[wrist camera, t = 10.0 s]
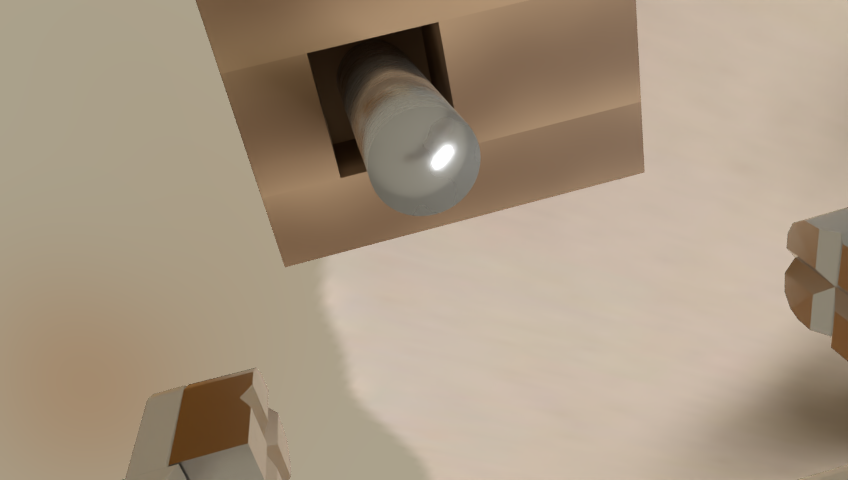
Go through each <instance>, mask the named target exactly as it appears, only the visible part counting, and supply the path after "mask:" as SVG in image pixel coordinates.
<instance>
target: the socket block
mask: <svg viewBox="0 0 848 480" xmlns="http://www.w3.org/2000/svg"><path fill="white" fill-rule="evenodd" d="M196 2H197V5H198V8H199V11H200V14H201V17H202V20H203V23H204V26H205V29H206V32H207V35H208V38H209V41H210V44H211V47H212V50H213V53H214V56H215V59H216V62H217V65H218V68H219V71H220V74H221V77H222V80H223V83H224V86H225V89H226V92H227V95H228V98H229V101H230V104H231V107H232V110H233V113H234V116H235V119H236V122H237V125H238V128H239V131H240V134H241V137H242V140H243V143H244V146H245V149H246V152H247V155H248V158H249V161H250V164H251V167H252V170H253V173H254V176H255V179H256V182H257V185H258V188H259V191H260V194H261V197H262V200H263V203H264V206H265V209H266V212H267V215H268V218H269V221H270V224H271V227H272V230H273V233H274V235H275V239H276V242H277V245H278V248H279V251H280V253H281V256H282V260H283V262H284V266H285V267H288V266H291V265H295V264H299V263H303V262H306V261H310V260H314V259H318V258H322V257H326V256H329V255H333V254H337V253H341V252H344V251H348V250H352V249H356V248H360V247H363V246H367V245H371V244H375V243H379V242H382V241H386V240H390V239H394V238H397V237H401V236H405V235H409V234H413V233H416V232H420V231H424V230H428V229H431V228H435V227H439V226H443V225H447V224H450V223H454V222H458V221H462V220H466V219H469V218H473V217H477V216H481V215H484V214H488V213H492V212H496V211H500V210H503V209H507V208H511V207H515V206H519V205H522V204H526V203H530V202H534V201H537V200H541V199H545V198H549V197H553V196H556V195H560V194H564V193H568V192H572V191H575V190H579V189H583V188H587V187H590V186H594V185H598V184H602V183H606V182H609V181H613V180H617V179H621V178H625V177H628V176H632V175H636V174H640V173H643V172H644V154H643V134H642V115H641V95H640V76H639V56H638V37H637V17H636V0H196ZM370 40H381V41H386V42H389V43H391V44H393V45H395V46H396V47H398V48H399V49H400V50H401V51H402V52H403V53H404V54H405V55H406V56H407V57H408V58H409V59H410V60H411V62H412V63H413V64H414V65H415V66H416V67H417V68H418V69H419V70H420V72H421V73H422V74H423V75H424V76H425V77H426V78H427V79H428V80H429V82H430V83H431V84H432V85H433V86H434V87H435V88H436V89H437V90H438V91H439V93H440V94H441V95H442V96H443V97H444V98H445V99H446V100H447V101H448V103H449V104H450V105H451V106H452V107H453V108H454V109H455V110H456V111H457V113H458V114H459V115H460V116H461V117H462V118H463V119H464V120H465V121H466V123H467V124H468V125H469V126H470V128H471V129H472V130H473V132H474V134H475V136H476V138H477V141H478V143H479V148H480V156H481V158H480V168H479V172H478V176H477V178H476V181H475V183H474V185H473V186H472V188H471V190H470V191H469V192H468V193H467V195H466V196H465V197H464V198H463V199H462V200H461V201H460V202H458V203H457V204H456V205H455V206H453V207H451V208H450V209H448V210H446V211H443V212H441V213H438V214H434V215H429V216H412V215H407V214H403V213H400V212H398V211H396V210H394V209H392V208H391V207H389V206H388V205H387V204H385V203H384V202H383V201H382V200H381V199H380V198H379V196H378V195H377V194H376V192H375V190H374V188H373V186H372V184H371V181H370V179H369V176H368V173H367V170H366V167H365V164H364V162H363V159H362V156H361V153H360V150H359V147H358V145H357V142H356V139H355V136H354V133H353V130H352V128H351V125H350V122H349V119H348V116H347V113H346V111H345V108H344V105H343V102H342V99H341V96H340V94H339V91H338V87H337V72H338V67H339V65H340V62H341V60H342V59H343V57H344V56H345V54H346V53H347V52H348V51H349V50H350V49H351V48H353V47H354V46H356V45H357V44H360V43H362V42H365V41H370Z"/></svg>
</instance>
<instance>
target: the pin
mask: <svg viewBox="0 0 848 480" xmlns="http://www.w3.org/2000/svg"><path fill="white" fill-rule="evenodd" d="M337 87H338V91H339V94H340V96H341V99H342V102H343V105H344V108H345V111H346V113H347V116H348V119H349V122H350V125H351V128H352V130H353V133H354V136H355V139H356V142H357V145H358V147H359V150H360V153H361V156H362V159H363V162H364V164H365V167H366V170H367V173H368V176H369V179H370V181H371V184H372V186H373V188H374V190H375V192H376V194H377V195H378V196H379V198H380V199H381V200H382V201H383V202H384V203H385V204H387V205H388V206H389V207H391V208H392V209H394V210H396V211H398V212H400V213H403V214H407V215H412V216H429V215H434V214H438V213H441V212H443V211H446V210H448V209H450V208H451V207H453V206H455V205H456V204H457V203H458V202H460V201H461V200H462V199H463V198H464V197H465V196H466V195H467V193H468V192H469V191H470V190H471V188H472V186H473V185H474V183H475V181H476V178H477V176H478V172H479V168H480V158H481V156H480V148H479V143H478V141H477V138H476V136H475V134H474V132H473V130H472V129H471V128H470V126H469V125H468V124H467V123H466V121H465V120H464V119H463V118H462V117H461V116H460V115H459V114H458V113H457V111H456V110H455V109H454V108H453V107H452V106H451V105H450V104H449V103H448V101H447V100H446V99H445V98H444V97H443V96H442V95H441V94H440V93H439V91H438V90H437V89H436V88H435V87H434V86H433V85H432V84H431V83H430V82H429V80H428V79H427V78H426V77H425V76H424V75H423V74H422V73H421V72H420V70H419V69H418V68H417V67H416V66H415V65H414V64H413V63H412V62H411V60H410V59H409V58H408V57H407V56H406V55H405V54H404V53H403V52H402V51H401V50H400V49H399V48H398V47H396V46H395V45H393V44H391V43H389V42H386V41H381V40H370V41H365V42H362V43H360V44H357V45H356V46H354V47H353V48H351V49H350V50H349V51H348V52H347V53H346V54H345V56H344V57H343V59H342V60H341V62H340V65H339V67H338V72H337Z"/></svg>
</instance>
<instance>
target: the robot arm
mask: <svg viewBox="0 0 848 480" xmlns="http://www.w3.org/2000/svg"><path fill="white" fill-rule="evenodd" d="M787 249H788V250H789V251H790V252H791V253H792V255H793V256H794V257H795V259H794V260H793V262H792V263H791V265H790V266H789V268H788V269H787V271H786V272H785V294H786V297H787V300H788V303H789V306H790V309H791V310H792V311H793V313H794V314H795V316H796V317H797V319H798V320H799V321H800V322H801V323H803V324H804V325H805V326H806V327H807V328H808V329H809V330H812V331H815V332H819V333H822V334H825V335H829V336H830V339H831V348H832V349H833V350H835V351H836V352H837V353H838V354H840V355H841V356H842V357H843V358H844V359H846V360H847V361H848V207H847V208H843V209H840V210H836V211H833V212H829V213H826V214H822V215H819V216H815V217H812V218H808V219H805V220H801V221H798V222H794V223H793V224H792V226H791V228H790V230H789V232H788V237H787ZM268 392H269V390H268V387H267V385H266V383H265V380H264V378H263V376H262V374H261V372H260V371H259V370H258V369H257V368H253V369H249V370H245V371H241V372H237V373H233V374H229V375H225V376H221V377H217V378H213V379H209V380H205V381H201V382H197V383H193V384H189V385H188V386H181V387H177V388H174V389H170V390H166V391H163V392H159V393H155V394H153V395H152V396H151V397H149V398H148V400H147V402H146V406H145V409H144V413H143V417H142V420H141V424H140V427H139V431H138V435H137V438H136V442H135V445H134V449H133V452H132V456H131V460H130V463H129V467H128V470H127V474H126V478H125V479H123V480H289V479H290V477H291V467H290V456H289V450H288V443H287V439H286V435H285V432H284V429H283V425H282V423H281V420H280V417H279V415H278V413H277V412H275V411H273V410H271V409H270V408H268ZM798 480H848V465H845V466H842V467H838V468H835V469H831V470H828V471H825V472H821V473H818V474H814V475H811V476H808V477H804V478H801V479H798Z"/></svg>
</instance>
